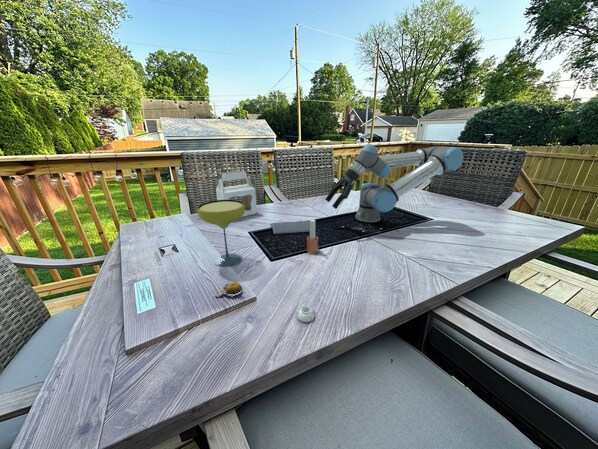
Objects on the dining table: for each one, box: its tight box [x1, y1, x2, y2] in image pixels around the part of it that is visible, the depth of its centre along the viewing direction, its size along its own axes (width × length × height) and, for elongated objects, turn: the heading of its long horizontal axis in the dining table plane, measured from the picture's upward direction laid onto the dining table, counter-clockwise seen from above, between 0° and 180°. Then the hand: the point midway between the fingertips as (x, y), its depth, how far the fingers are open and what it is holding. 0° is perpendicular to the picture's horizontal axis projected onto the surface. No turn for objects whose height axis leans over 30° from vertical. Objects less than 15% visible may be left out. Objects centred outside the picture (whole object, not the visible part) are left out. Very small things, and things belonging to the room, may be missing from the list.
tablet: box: [271, 220, 310, 236], centre depth 142 cm, size 23×17×1 cm
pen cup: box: [306, 235, 319, 254], centre depth 113 cm, size 5×5×7 cm
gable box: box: [215, 171, 258, 218], centre depth 162 cm, size 22×13×28 cm, turn 127°
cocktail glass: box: [197, 199, 245, 268], centre depth 103 cm, size 18×18×25 cm
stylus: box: [309, 219, 316, 240], centre depth 112 cm, size 2×2×15 cm
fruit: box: [217, 281, 243, 299], centre depth 85 cm, size 8×8×4 cm
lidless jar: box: [297, 305, 315, 323], centre depth 74 cm, size 5×3×5 cm
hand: (330, 204), depth 134 cm, fingers open, 13 cm apart
